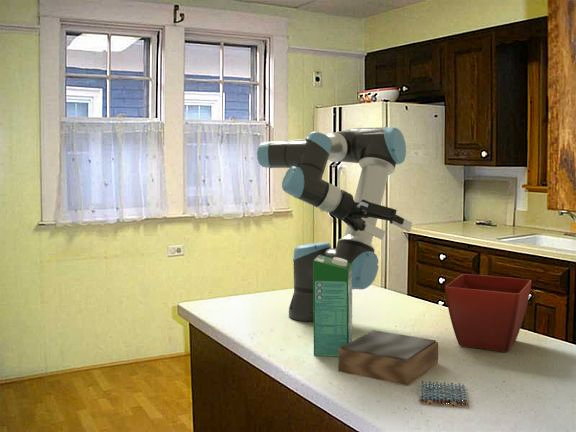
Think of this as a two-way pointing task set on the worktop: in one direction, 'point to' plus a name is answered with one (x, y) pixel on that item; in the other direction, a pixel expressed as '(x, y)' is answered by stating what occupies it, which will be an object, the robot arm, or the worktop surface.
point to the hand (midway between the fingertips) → (396, 231)
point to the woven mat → (443, 394)
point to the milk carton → (331, 304)
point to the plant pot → (487, 310)
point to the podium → (388, 357)
